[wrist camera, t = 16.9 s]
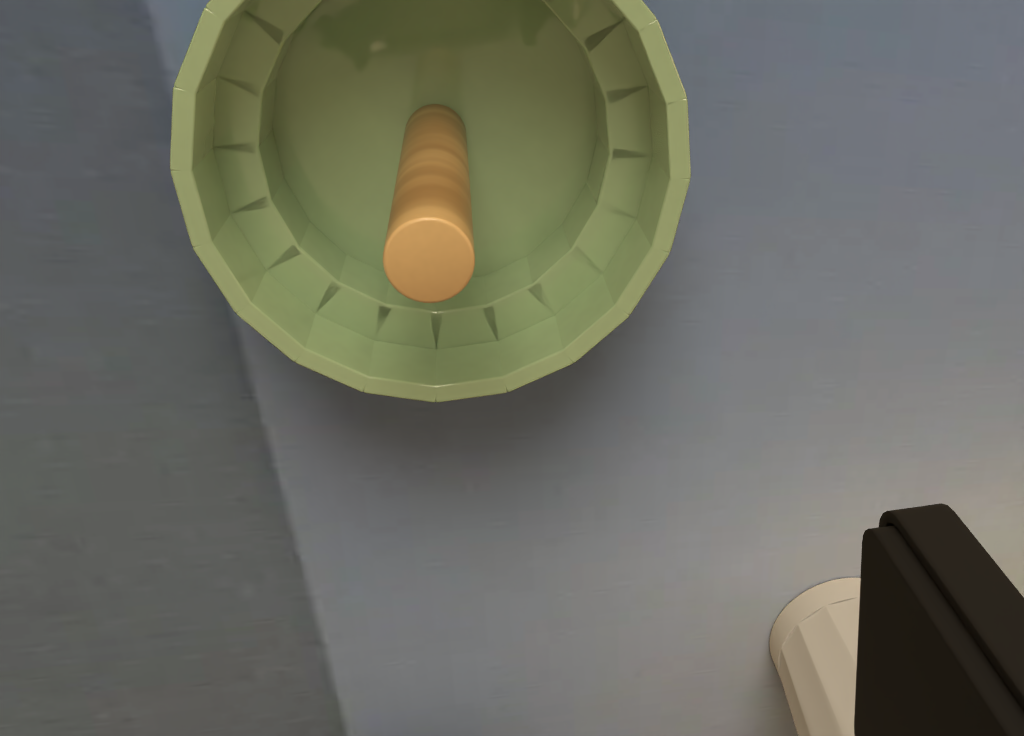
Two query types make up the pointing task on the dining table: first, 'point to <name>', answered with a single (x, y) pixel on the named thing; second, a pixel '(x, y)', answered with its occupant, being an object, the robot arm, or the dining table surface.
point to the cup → (820, 657)
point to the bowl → (374, 165)
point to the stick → (431, 209)
